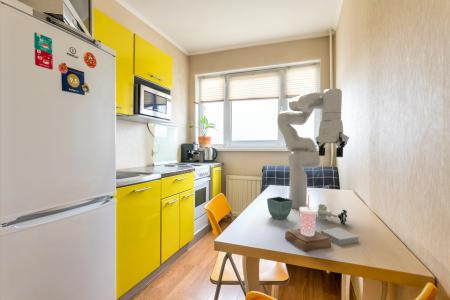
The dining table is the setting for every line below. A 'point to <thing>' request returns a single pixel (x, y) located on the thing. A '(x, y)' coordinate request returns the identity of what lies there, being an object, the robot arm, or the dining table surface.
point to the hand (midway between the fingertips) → (330, 156)
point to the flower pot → (279, 207)
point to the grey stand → (340, 236)
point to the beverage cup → (307, 220)
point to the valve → (330, 214)
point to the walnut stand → (308, 240)
